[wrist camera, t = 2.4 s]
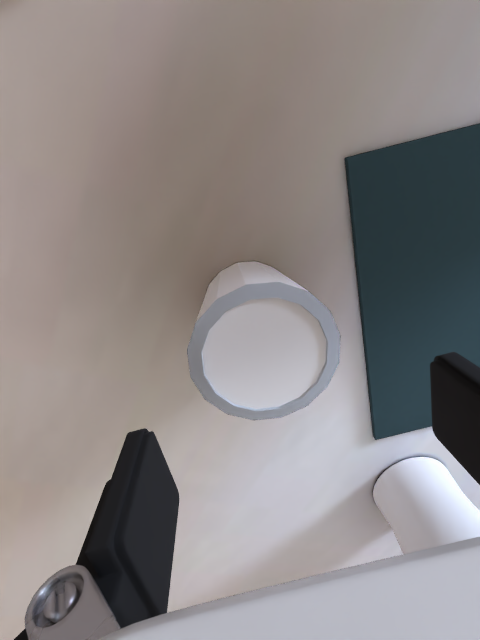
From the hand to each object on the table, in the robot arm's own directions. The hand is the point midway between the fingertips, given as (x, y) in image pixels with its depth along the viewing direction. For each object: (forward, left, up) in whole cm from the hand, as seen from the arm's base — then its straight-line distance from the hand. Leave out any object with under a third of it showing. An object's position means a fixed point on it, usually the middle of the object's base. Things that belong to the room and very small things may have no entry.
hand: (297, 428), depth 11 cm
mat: (+13, -3, -11) cm, 17 cm away
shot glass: (0, 0, -11) cm, 11 cm away
